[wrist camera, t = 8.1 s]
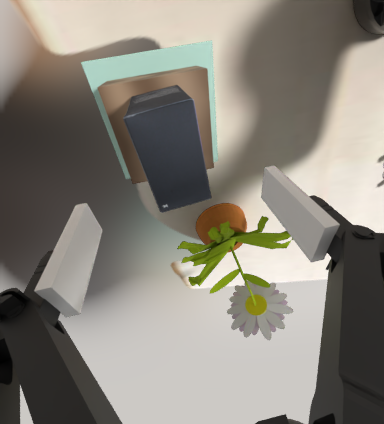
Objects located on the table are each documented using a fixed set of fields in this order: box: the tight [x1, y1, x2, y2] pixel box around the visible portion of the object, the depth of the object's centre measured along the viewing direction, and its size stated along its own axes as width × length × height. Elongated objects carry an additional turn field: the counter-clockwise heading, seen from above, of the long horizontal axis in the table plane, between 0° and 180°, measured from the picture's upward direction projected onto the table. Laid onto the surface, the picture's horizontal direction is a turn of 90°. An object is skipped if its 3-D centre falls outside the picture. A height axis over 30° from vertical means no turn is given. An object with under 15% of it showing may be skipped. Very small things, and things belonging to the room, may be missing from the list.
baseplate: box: [81, 41, 218, 179], centre depth 33 cm, size 18×18×2 cm
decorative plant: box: [177, 203, 293, 340], centre depth 41 cm, size 27×24×25 cm
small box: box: [123, 85, 211, 213], centre depth 23 cm, size 11×6×10 cm, turn 12°
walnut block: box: [97, 66, 214, 184], centre depth 30 cm, size 13×13×7 cm
